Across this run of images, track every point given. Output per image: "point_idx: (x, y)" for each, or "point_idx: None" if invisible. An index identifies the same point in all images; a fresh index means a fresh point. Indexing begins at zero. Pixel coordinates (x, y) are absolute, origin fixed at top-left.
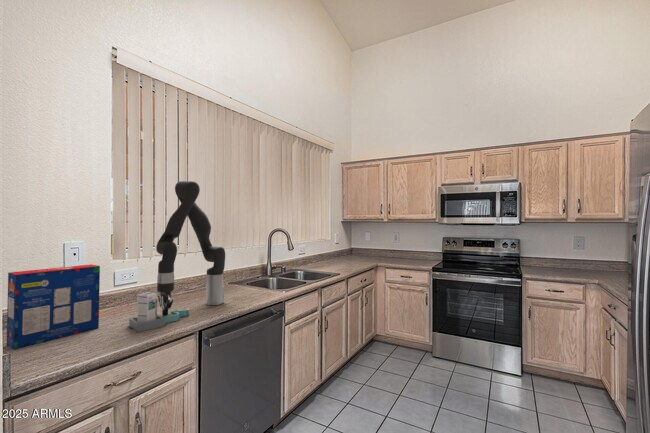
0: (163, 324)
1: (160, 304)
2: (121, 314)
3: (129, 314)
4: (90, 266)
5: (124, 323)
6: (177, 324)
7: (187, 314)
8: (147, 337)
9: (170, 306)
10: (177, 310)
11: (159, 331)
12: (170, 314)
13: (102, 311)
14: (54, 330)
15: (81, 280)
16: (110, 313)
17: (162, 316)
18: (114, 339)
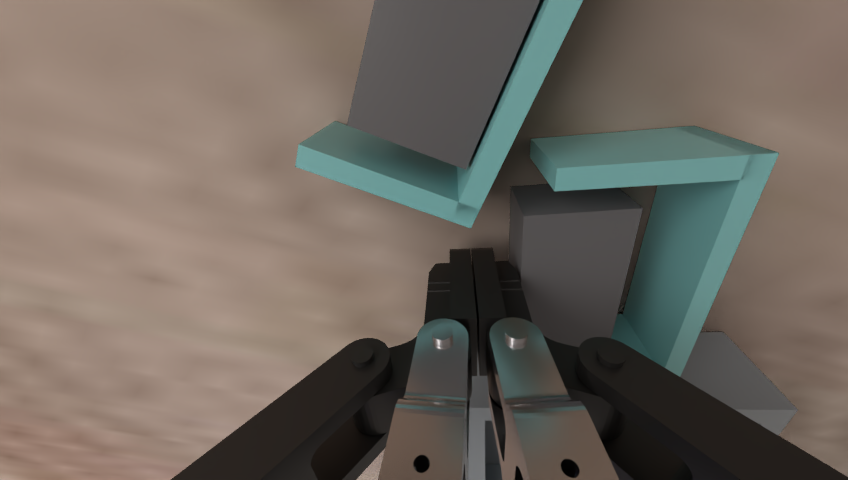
0: (734, 352)
1: (361, 447)
2: (123, 428)
3: (139, 402)
4: None
5: (380, 462)
6: (837, 220)
7: None
8: (845, 465)
9: (684, 390)
10: (421, 81)
11: (823, 394)
12: (551, 247)
13: (14, 465)
14: None
15: None
16: (77, 454)
17: (559, 342)
18: None
